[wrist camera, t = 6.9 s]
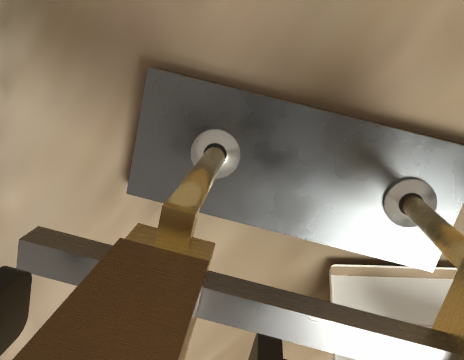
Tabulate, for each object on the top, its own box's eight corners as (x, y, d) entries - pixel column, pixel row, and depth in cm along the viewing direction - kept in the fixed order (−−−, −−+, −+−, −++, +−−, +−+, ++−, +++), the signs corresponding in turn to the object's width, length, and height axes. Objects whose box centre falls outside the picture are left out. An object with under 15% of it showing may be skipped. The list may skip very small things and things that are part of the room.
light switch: (328, 402, 27) (560, 416, 25) (340, 414, 22) (621, 432, 21) (322, 273, 30) (528, 279, 28) (332, 261, 25) (576, 268, 24)
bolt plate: (475, 147, 24) (489, 152, 22) (425, 263, 26) (435, 275, 24) (153, 67, 24) (145, 67, 23) (132, 188, 26) (124, 195, 25)
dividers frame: (446, 187, 23) (625, 308, 11) (414, 262, 24) (546, 438, 13) (138, 109, 23) (9, 150, 12) (125, 188, 25) (-2, 293, 13)
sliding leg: (241, 153, 23) (175, 355, 7) (222, 229, 24) (130, 545, 8) (191, 141, 23) (8, 310, 7) (175, 217, 24) (-8, 507, 8)
